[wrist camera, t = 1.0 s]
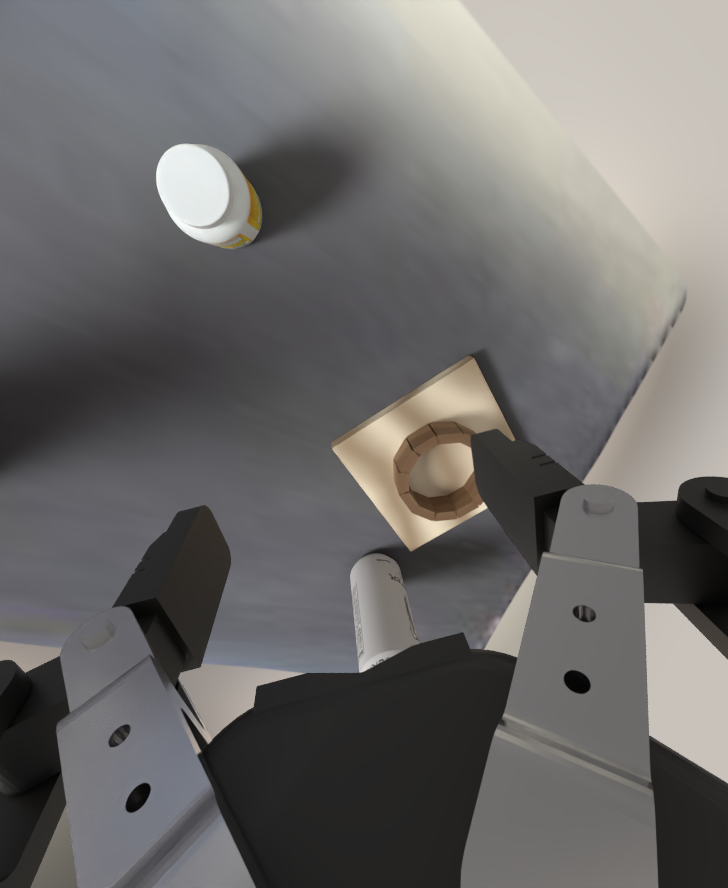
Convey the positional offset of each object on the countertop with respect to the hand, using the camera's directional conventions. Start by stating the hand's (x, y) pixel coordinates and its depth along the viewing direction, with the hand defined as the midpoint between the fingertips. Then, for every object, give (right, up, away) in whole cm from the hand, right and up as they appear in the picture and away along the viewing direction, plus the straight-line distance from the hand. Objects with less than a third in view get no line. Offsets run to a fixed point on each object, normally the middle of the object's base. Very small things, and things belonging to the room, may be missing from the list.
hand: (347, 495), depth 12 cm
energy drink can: (+2, -14, +36) cm, 38 cm away
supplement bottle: (-10, +20, +19) cm, 30 cm away
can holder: (+8, 0, +30) cm, 31 cm away
